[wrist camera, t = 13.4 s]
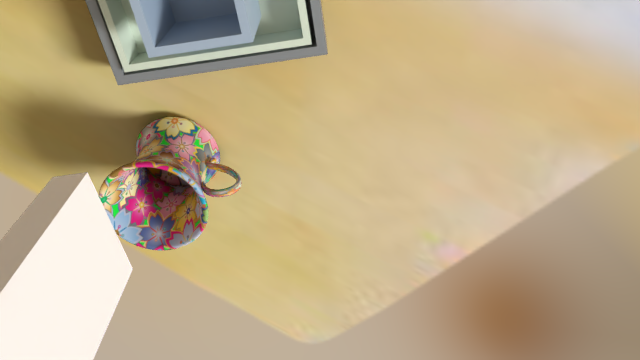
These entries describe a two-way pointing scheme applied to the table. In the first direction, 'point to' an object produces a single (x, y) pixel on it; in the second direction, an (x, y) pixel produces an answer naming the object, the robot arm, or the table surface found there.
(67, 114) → the table surface
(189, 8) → the small crate
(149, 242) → the mug
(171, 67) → the bottom crate
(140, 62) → the top crate
